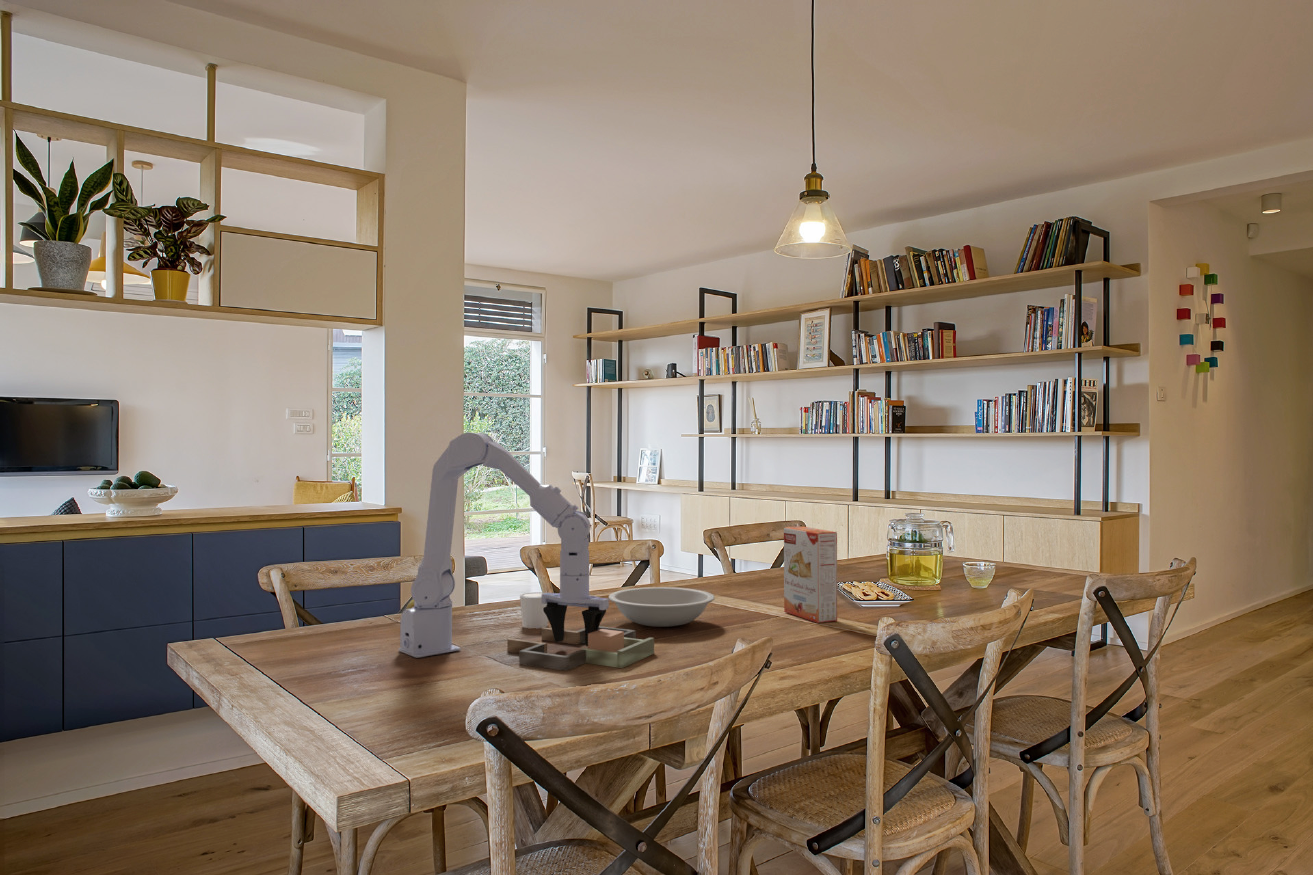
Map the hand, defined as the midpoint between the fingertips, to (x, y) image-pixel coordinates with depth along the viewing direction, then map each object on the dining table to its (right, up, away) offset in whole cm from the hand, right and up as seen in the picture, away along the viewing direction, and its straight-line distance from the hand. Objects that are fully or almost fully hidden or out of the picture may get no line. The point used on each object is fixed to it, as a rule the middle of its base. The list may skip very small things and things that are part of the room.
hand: (574, 643), depth 166 cm
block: (+6, -2, -3) cm, 7 cm away
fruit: (-34, -2, +17) cm, 38 cm away
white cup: (-11, -2, +24) cm, 26 cm away
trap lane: (+1, -2, -1) cm, 2 cm away
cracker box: (+52, -2, +34) cm, 63 cm away
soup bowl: (+17, -2, +25) cm, 31 cm away
